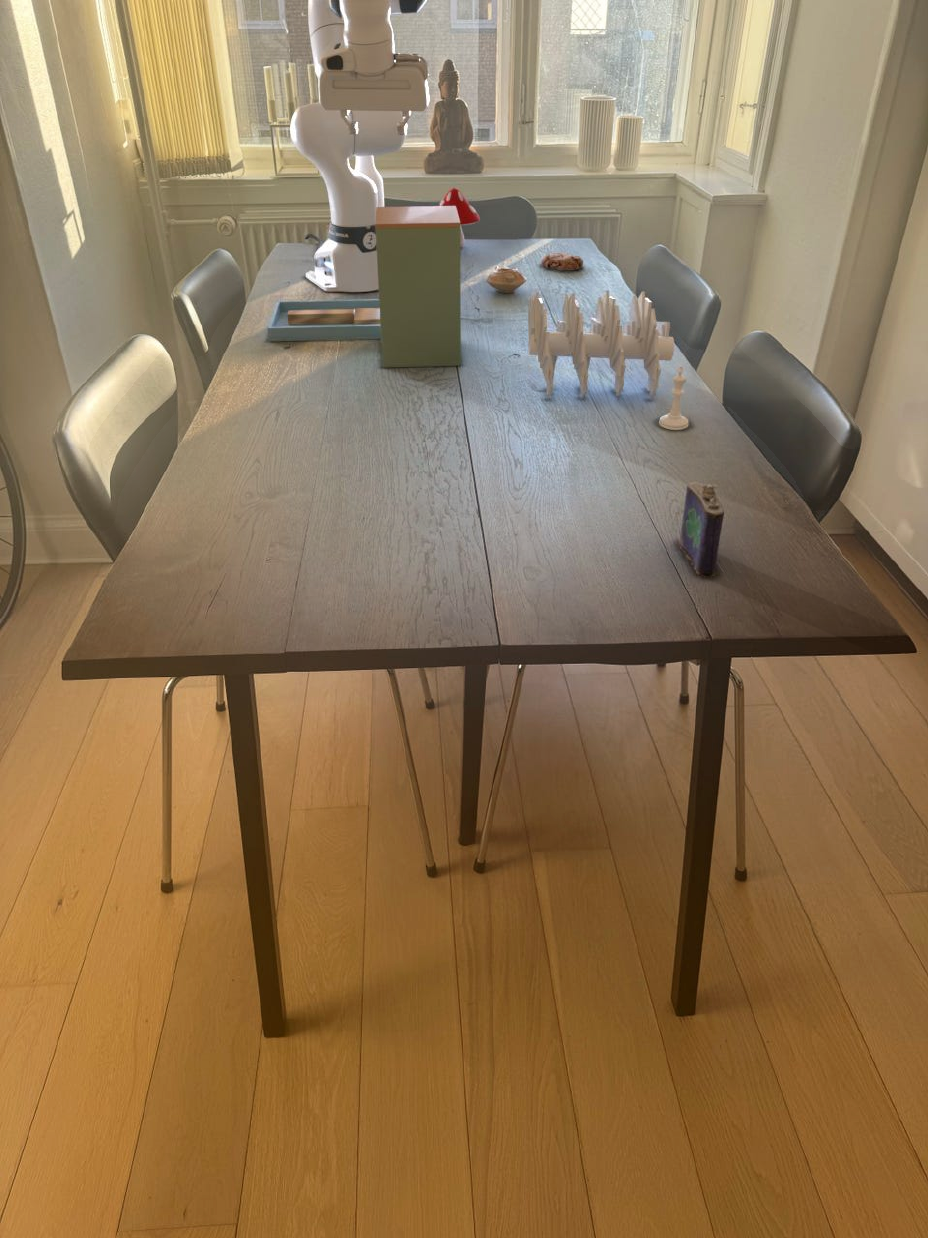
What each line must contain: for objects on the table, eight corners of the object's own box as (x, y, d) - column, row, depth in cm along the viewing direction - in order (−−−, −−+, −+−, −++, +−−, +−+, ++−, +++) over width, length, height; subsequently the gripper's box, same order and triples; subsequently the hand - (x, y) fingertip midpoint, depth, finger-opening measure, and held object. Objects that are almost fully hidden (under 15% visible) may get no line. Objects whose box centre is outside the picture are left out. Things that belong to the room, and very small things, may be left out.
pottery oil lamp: (516, 278, 230) (528, 254, 225) (516, 309, 223) (529, 285, 218) (482, 266, 228) (493, 242, 222) (482, 297, 221) (493, 273, 215)
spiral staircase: (664, 422, 170) (525, 416, 169) (655, 350, 179) (522, 344, 177) (690, 346, 154) (537, 339, 153) (679, 271, 163) (534, 265, 162)
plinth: (382, 367, 182) (375, 223, 167) (383, 343, 193) (376, 206, 178) (460, 365, 182) (460, 222, 167) (456, 341, 194) (455, 205, 179)
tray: (269, 341, 194) (267, 327, 192) (277, 313, 209) (276, 300, 208) (423, 338, 196) (423, 324, 194) (421, 310, 211) (420, 298, 209)
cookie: (542, 261, 245) (543, 249, 244) (583, 262, 244) (584, 250, 243) (539, 271, 237) (540, 259, 236) (582, 273, 236) (583, 260, 234)
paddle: (287, 328, 198) (286, 317, 197) (290, 316, 205) (289, 306, 204) (397, 326, 199) (397, 315, 198) (397, 314, 206) (397, 304, 205)
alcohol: (392, 252, 253) (387, 126, 236) (376, 260, 246) (369, 131, 229) (363, 248, 256) (356, 124, 239) (347, 256, 249) (338, 129, 232)
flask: (675, 541, 127) (686, 468, 121) (696, 540, 127) (708, 467, 121) (698, 578, 120) (711, 502, 113) (721, 576, 120) (735, 501, 114)
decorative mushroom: (423, 252, 253) (421, 191, 244) (433, 240, 264) (432, 181, 255) (475, 254, 251) (475, 193, 242) (483, 242, 262) (483, 183, 253)
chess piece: (690, 420, 161) (698, 362, 155) (686, 431, 157) (694, 373, 151) (661, 416, 162) (668, 359, 156) (656, 427, 158) (663, 369, 152)
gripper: (429, 47, 171) (434, 126, 182) (318, 46, 173) (329, 125, 183) (425, 60, 167) (429, 141, 177) (311, 59, 169) (322, 139, 179)
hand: (377, 133), depth 180 cm, fingers open, 8 cm apart
